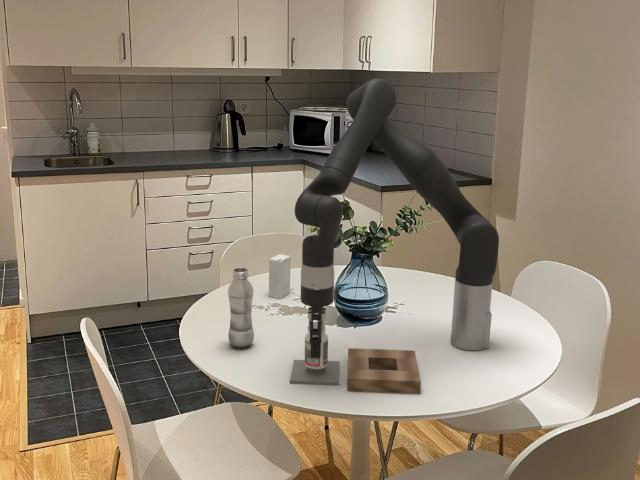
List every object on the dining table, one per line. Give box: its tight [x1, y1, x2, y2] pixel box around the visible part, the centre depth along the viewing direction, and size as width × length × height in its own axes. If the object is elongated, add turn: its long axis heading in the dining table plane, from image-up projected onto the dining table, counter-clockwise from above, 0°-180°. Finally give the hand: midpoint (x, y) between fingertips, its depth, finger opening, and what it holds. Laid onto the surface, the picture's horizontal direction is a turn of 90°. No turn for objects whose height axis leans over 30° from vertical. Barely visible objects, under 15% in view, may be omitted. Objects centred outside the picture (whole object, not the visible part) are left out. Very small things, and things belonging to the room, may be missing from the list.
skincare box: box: [268, 253, 292, 299], centre depth 213 cm, size 6×4×12 cm
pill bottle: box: [304, 324, 329, 369], centre depth 163 cm, size 5×5×10 cm
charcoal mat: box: [289, 359, 341, 386], centre depth 165 cm, size 11×11×1 cm
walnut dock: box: [347, 347, 422, 395], centre depth 164 cm, size 16×16×3 cm
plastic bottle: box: [227, 267, 255, 348], centre depth 176 cm, size 6×7×20 cm
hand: (316, 351), depth 163 cm, fingers closed on pill bottle, 5 cm apart
